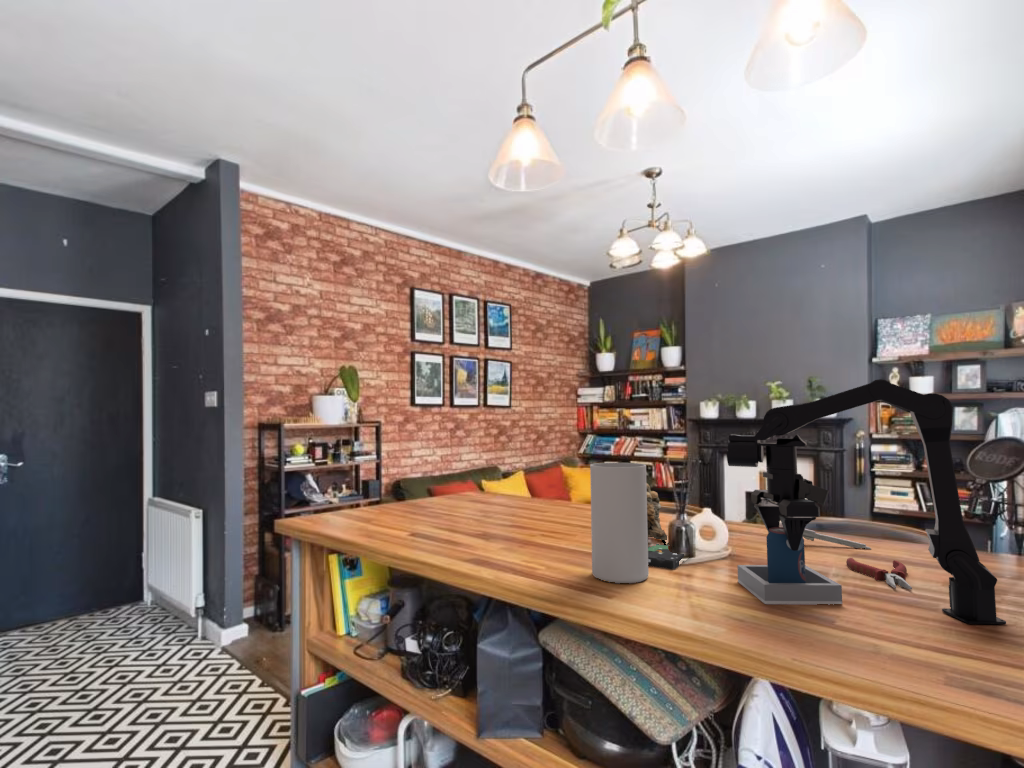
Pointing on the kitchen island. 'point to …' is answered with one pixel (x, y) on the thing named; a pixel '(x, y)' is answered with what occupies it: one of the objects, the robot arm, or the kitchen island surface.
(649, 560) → the disk drive
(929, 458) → the robot arm
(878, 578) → the pliers
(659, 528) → the owl figurine
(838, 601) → the tray
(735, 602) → the kitchen island surface
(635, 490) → the cylinder vase
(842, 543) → the caliper
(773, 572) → the soda can
